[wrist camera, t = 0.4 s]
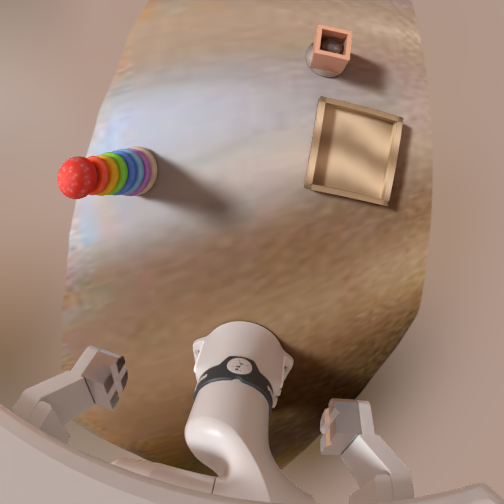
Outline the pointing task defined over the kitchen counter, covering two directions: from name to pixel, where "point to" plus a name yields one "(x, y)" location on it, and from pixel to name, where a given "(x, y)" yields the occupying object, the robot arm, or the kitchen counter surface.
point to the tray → (353, 151)
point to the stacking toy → (109, 174)
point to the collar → (329, 59)
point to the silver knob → (327, 45)
